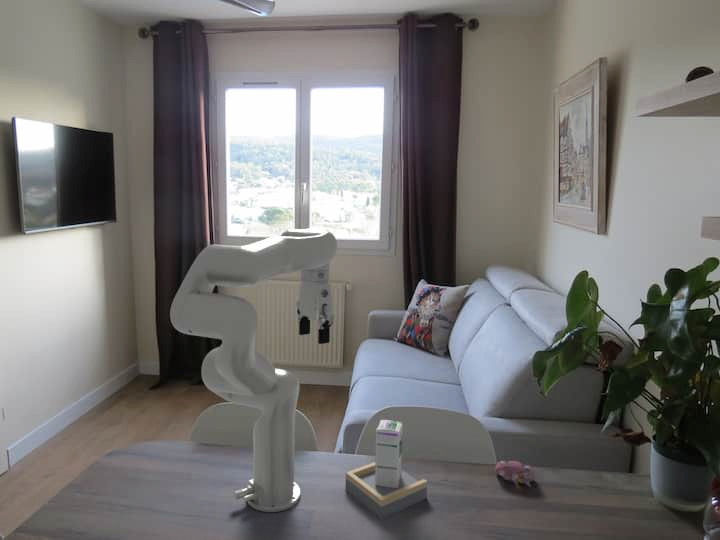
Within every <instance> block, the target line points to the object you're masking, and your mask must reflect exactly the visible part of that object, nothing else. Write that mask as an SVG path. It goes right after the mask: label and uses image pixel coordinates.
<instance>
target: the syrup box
mask: <svg viewBox="0 0 720 540" xmlns="http://www.w3.org/2000/svg"><path fill="white" fill-rule="evenodd" d="M403 424H404V423H403V422H402V421H398V420H397V421H396V420H391V419H380V421H379V423H378V424H377V427H376V429H375V459H374V460H375V461H374V462H375V485H377V486H382V487H389V488H398V486H399V483H400V480H401V475H402V471H403V470H402V467H403V465H402V464H403V434H404V433H403V432H404V430H403V428H404V425H403Z"/></svg>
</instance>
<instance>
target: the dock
mask: <svg viewBox="0 0 720 540" xmlns="http://www.w3.org/2000/svg"><path fill="white" fill-rule="evenodd" d="M345 490H346V492H348V493H349V494H350V495H352V496H353V497H354V498H355V499H356V500H358V501H359V502H360V503H361V504H362V505H364V506H365V507H366V508H367V509H368V510H370V511H371V512H372V513H374V515H376V516H377V518H378V517H379V519H385V518H386V517H389V516H391V515H394V514H395V513H397V512H400V511H403V510H404V509H406V508H409V507H411V506H413V505H415V504H418V503H420V502H422V501H424V500H427V497H428V496H427V494H428V480H426V479H425V478H422V479H420V480H418V479H416V478H414V477H413V476H411V475H410V474H408V473H407V472H406V471H404V470H402V475H401V480H400V483H399V486H398V488H389V487H382V486H377V485H375V461H374V462H371V463H368V464H366V465H362V466H360V467H357V468H355V469H351V470H349V471H347V472H345Z"/></svg>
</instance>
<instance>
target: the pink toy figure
mask: <svg viewBox="0 0 720 540" xmlns="http://www.w3.org/2000/svg"><path fill="white" fill-rule="evenodd" d="M494 472H495V475H496V476H501V477H502V479H503V480H505V481H507V480H509V482H510V481H512V480H513V475H516V476H515V481H516V482H517V483H518V482H520V483H519V484H525V483H526V482H533V481H534V480H535V471H534V469H533V468H532V466H530V465H529V464H523V463H521V462H520V461H516V460H509V461H505V460H500V461H499V462H497V463H496V465H495V467H494Z"/></svg>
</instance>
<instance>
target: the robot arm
mask: <svg viewBox="0 0 720 540" xmlns="http://www.w3.org/2000/svg"><path fill="white" fill-rule="evenodd" d="M337 248H338V243H337V239H336V237H335V235H334V234H333V233H332V232H330V231H329V230H328V229H326V228H320V227H319V228H318V227H315V228H313V227H309V228H304V229H302V228H301V229H300V228H299V229H297V228H292V229H291V228H290V229H288V230H287V229H286V230H285V231H283V232H282V234H281V235H280V236H271V237H270V236H269V237H266V238H264V239H260V240H258V241H255V242H253V243H248V244H245V245H232V244H231V245H230V244H229V245H227V244H218V243H217V244H214V243H213V244H209V245H207V246H206V247H204V248H203V249H202V251H201V252H200V253H199V254H198V255H197V256H196V258H195V259H194V261H193V263H192V264H191V266H190V268H189V269H188V271H187V273H186V274H185V277H184V279H183V281H182V283H181V285H180V286H179V288H178V289H177V292H176V294H175V296H174V298H173V300H172V303H171V306H170V312H169V317H170V322H171V324H172V327H174V329H175V330H177V331H178V332H179V333H182V334H185V335H189V336H198V337H203V338H210V339H217V340H221V341H222V343H221V344H220V345H219V346H218V347H215V348H213V349H211V350H210V351H209V352H208V353H207V354H206V355H205V357H204V359H203V361H202V365H201V370H200V371H201V379H202V381H203V383H204V386H205V387H206V388H207V389H208V390H209V391H211V392H212V393H214V394H216V395H217V396H219V397H221V398H222V399H224V400H225V401H227V402H229V403H231V404H234V405H240V406H244V407H245V406H246V407H250V408H255V409H259V410H261V411H262V414H261V415H260V416H259V418H258V419H257V420H256V421H255V423H254V425H253V430H252V431H253V432H252V436H253V437H252V439H253V441H252V442H253V444H252V445H253V446H252V447H253V454H252V456H253V457H252V458H253V464H252V467H253V473H252V474H253V476H252V477H253V478H252V479H249V480H248V484H249V485H246V486H245V488H240V489H238V490H235V491H233V498H234V500H235V501H237V500H240V499H242V500H243V502H244V503H248V505H249V506H250V507H252V508H253V509H255V510H257V511H260V512H264V513H276V512H282V511H285V510H288V509H291V508H292V507H294V506H295V505H297V503H298V502H299V501H300V498H301V488H300V486H299V485H298V484H297V483H296V482H295V426H296V425H295V422H296V420H295V419H296V411H297V406H298V405H297V404H298V399H299V396H300V395H299V394H300V381H299V378H298V377H297V376H296V374H294V373H293V372H291V371H289V370H287V369H283V368H277V367H275V365H274V364H273V362H272V361H271V359H269V358H268V357H267V356H266V355H265V354H264V353H262V352H261V351H260V350H259V349H257V348H256V346H255V344H256V337H257V329H258V314H257V311H256V309H255V307H254V305H253V304H252V303H251V302H250V301H248V300H247V299H246V298H243V297H241V296H237V295H232V294H224V293H216V292H215V293H214V292H213V291H214V289H215V286H218V287H226V288H227V287H228V288H239V289H251V288H254V287H257V286H259V285H261V284H263V283H265V282H267V281H269V280H271V279H273V278H276V277H278V276H280V275H284V274H285V275H286V274H292V273H296V272H298V273H299V272H300V286H299V298H298V300H297V302H295V303H296V308H297V310H296V312H297V315H298V317H297V318H298V322H299V323H298V335H300V336H304V335H310V334H311V320H314V321H317V324H318V326H319V328H318V330H317V331H318V333H317V335H318V336H317V337H318V338H317V340H318V341H317V343H318V344H319V345H323V344H329V343H330V337H331V332H330V331H331V330H330V329H331V328H332V326H333V323H334V319H335V314H334V312H333V293H332V287H331V282H330V265H331V264H330V262H331V261H332V260H333V258H334V257H335V255H336V252H337ZM323 321H324V322H323Z"/></svg>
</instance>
